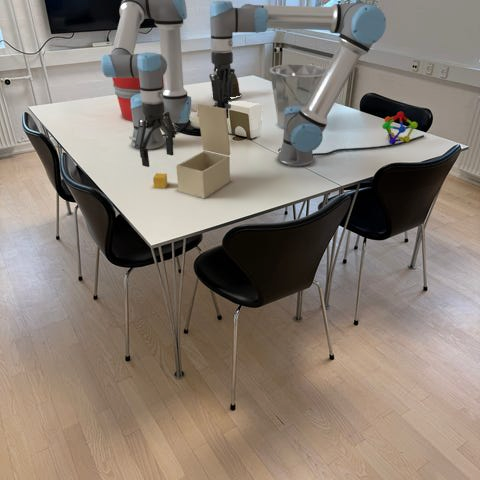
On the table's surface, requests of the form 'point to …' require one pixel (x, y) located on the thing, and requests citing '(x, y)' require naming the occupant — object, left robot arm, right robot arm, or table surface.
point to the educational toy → (398, 128)
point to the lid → (214, 128)
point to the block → (160, 180)
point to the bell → (235, 87)
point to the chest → (203, 174)
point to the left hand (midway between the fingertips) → (158, 160)
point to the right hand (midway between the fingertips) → (223, 118)
